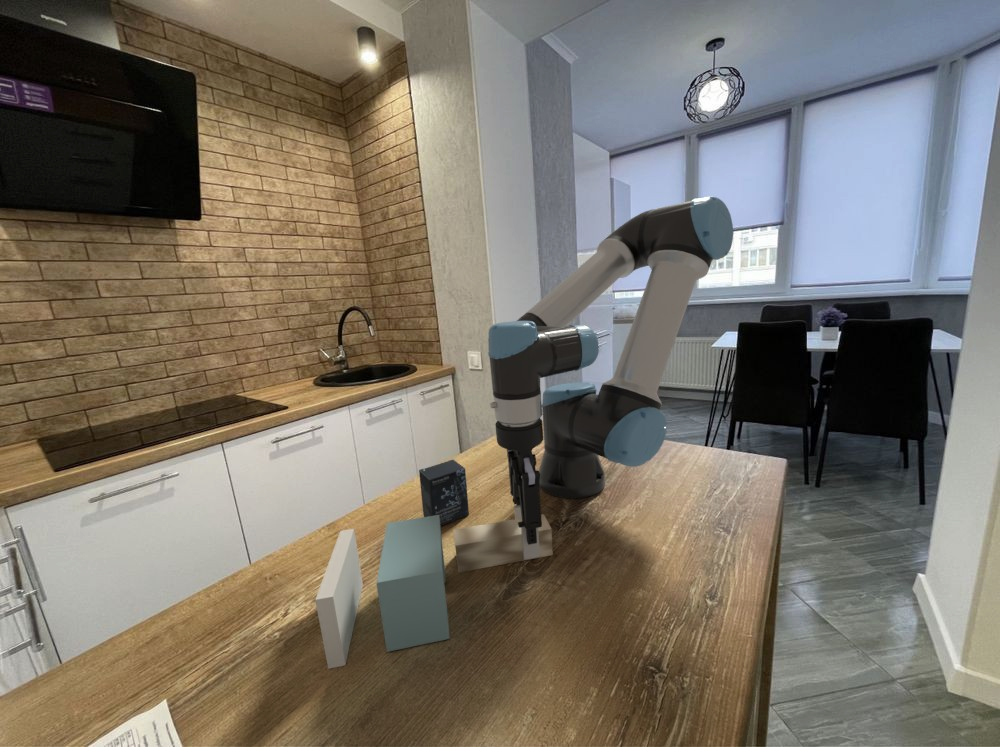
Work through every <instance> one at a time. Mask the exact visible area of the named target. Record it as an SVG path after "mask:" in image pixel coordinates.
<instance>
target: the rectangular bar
mask: <svg viewBox="0 0 1000 747" xmlns="http://www.w3.org/2000/svg"><path fill="white" fill-rule="evenodd" d="M541 521H542V527H538V533H539V548H540V557H536V558H531V559H526V560H524V558H523V546H522V534H521V527H520V528H519V526H518V522H522V518H520V519H515V518H513V519H507V520H503V521H496V522H490V523H485V524H479V525H478V524H477V525H472V526H466V527H461V528H456V529H455V528H454V529H453V535H454V536H453V537H454V546H455V555H456V564H457V565H456V566H457V573H458V574H459V573H464V572H470V571H475V570H481V569H486V568H491V567H495V566H501V565H507V564H513V563H519V562H524V561H528V560H532V559H539V558H544V557H549V556H550V557H551V556H553V555H554V554H553V536H552V535H553V534H552V527H551V525H550V523H549V520H547V517H546V515H545V514H543V513H542V514H541Z"/></svg>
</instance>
